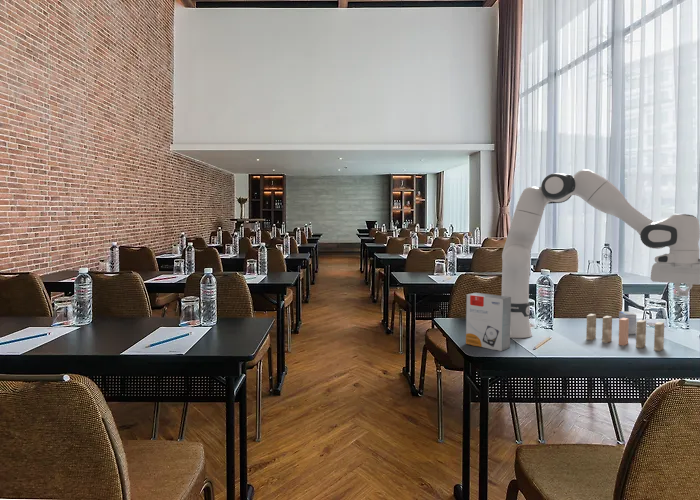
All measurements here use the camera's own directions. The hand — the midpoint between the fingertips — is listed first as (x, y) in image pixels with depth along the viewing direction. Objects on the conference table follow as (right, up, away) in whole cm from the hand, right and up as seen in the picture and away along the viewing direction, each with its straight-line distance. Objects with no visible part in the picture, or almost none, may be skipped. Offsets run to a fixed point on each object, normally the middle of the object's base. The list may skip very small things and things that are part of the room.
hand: (683, 295), depth 171 cm
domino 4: (-9, -21, +10) cm, 25 cm away
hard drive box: (-68, -21, +12) cm, 72 cm away
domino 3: (-13, -21, +14) cm, 28 cm away
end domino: (-5, -21, +6) cm, 22 cm away
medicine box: (0, -20, +35) cm, 40 cm away
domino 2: (-18, -20, +19) cm, 33 cm away
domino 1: (-22, -20, +23) cm, 38 cm away
